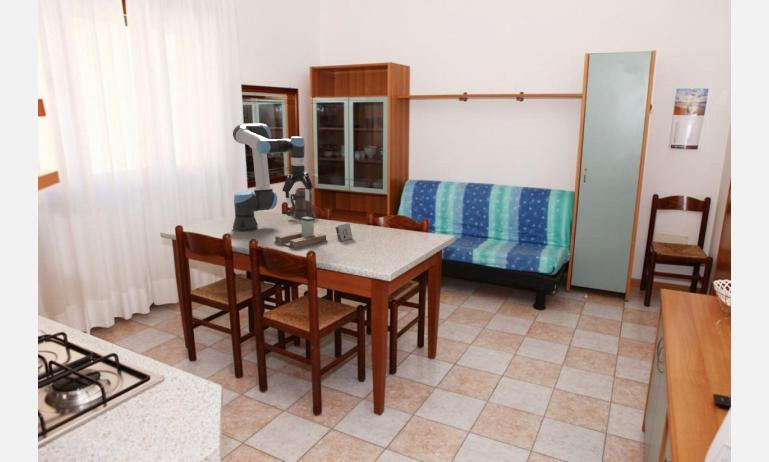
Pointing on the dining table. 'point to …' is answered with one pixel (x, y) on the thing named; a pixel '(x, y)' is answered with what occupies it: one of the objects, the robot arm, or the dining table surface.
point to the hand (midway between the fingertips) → (298, 202)
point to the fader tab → (307, 226)
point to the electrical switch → (344, 232)
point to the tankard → (301, 205)
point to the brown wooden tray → (299, 240)
